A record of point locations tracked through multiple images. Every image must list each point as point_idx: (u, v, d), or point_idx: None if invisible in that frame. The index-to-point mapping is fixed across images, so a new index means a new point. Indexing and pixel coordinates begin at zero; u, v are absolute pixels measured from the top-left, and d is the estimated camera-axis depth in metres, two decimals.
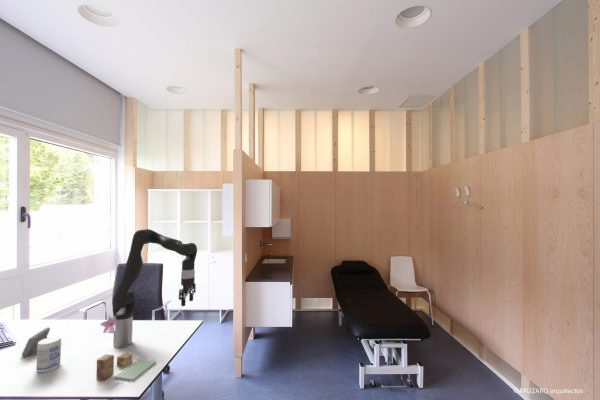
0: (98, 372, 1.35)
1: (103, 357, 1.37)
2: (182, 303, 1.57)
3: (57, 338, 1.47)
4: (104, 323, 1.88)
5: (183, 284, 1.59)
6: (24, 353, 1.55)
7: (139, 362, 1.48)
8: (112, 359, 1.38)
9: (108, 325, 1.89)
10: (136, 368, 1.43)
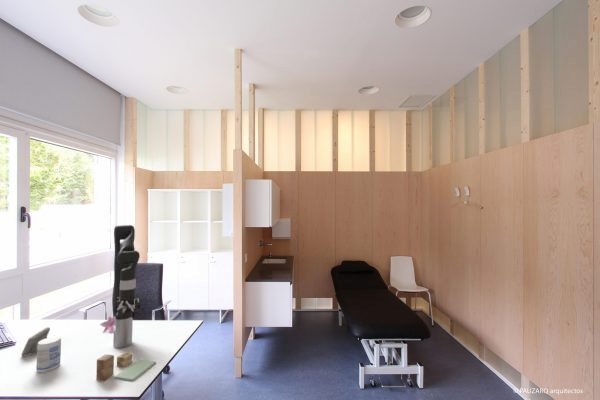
0: (98, 372, 1.35)
1: (103, 357, 1.37)
2: (135, 314, 1.47)
3: (57, 338, 1.47)
4: (104, 323, 1.88)
5: (132, 295, 1.47)
6: (24, 353, 1.55)
7: (139, 362, 1.48)
8: (112, 359, 1.38)
9: (108, 325, 1.88)
10: (136, 368, 1.43)
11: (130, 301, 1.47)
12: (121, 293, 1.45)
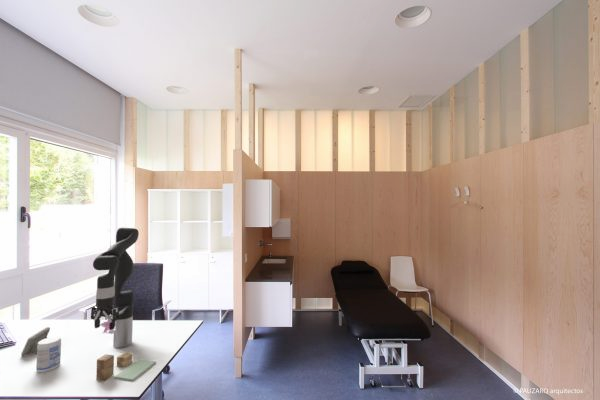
0: (98, 372, 1.35)
1: (103, 357, 1.37)
2: (113, 325, 1.34)
3: (57, 338, 1.47)
4: (104, 324, 1.88)
5: (110, 304, 1.33)
6: (23, 353, 1.55)
7: (139, 362, 1.48)
8: (112, 359, 1.38)
9: (108, 325, 1.88)
10: (136, 368, 1.43)
11: (108, 311, 1.33)
12: (97, 302, 1.31)
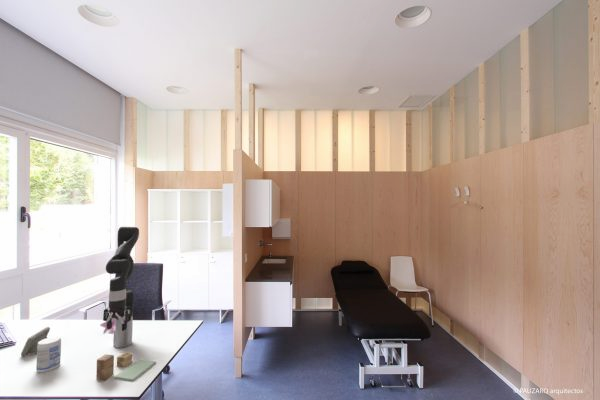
0: (98, 372, 1.35)
1: (103, 357, 1.37)
2: (125, 326, 1.39)
3: (57, 338, 1.47)
4: (104, 324, 1.87)
5: (122, 306, 1.39)
6: (23, 353, 1.55)
7: (139, 362, 1.48)
8: (112, 359, 1.38)
9: None
10: (136, 368, 1.43)
11: (120, 313, 1.38)
12: (110, 304, 1.36)
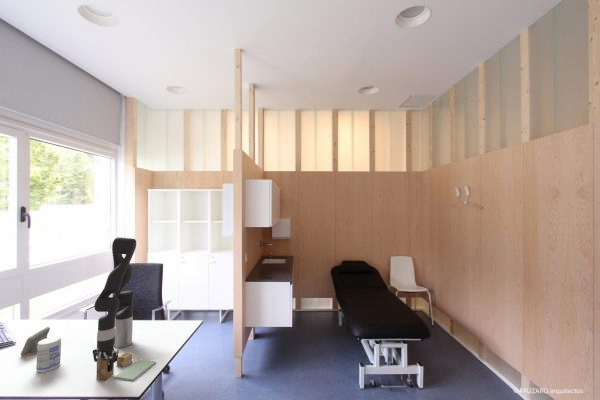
0: (98, 372, 1.35)
1: None
2: (111, 367, 1.36)
3: (57, 338, 1.47)
4: None
5: (111, 345, 1.36)
6: (23, 353, 1.55)
7: (139, 362, 1.48)
8: None
9: None
10: (136, 368, 1.43)
11: (108, 353, 1.36)
12: (98, 344, 1.34)
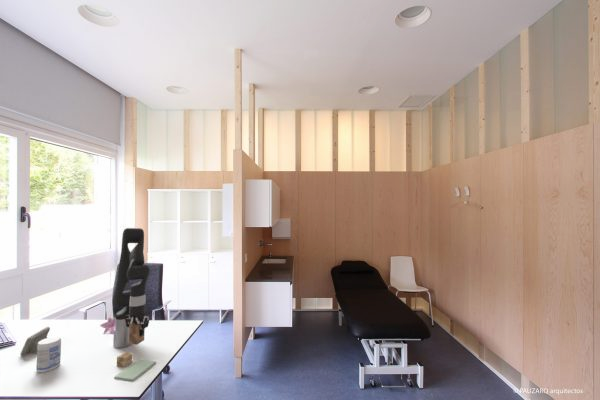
0: (130, 336, 1.41)
1: (135, 323, 1.43)
2: (143, 332, 1.43)
3: (57, 338, 1.47)
4: (104, 324, 1.86)
5: (142, 311, 1.42)
6: (22, 353, 1.55)
7: (139, 362, 1.48)
8: None
9: (108, 326, 1.87)
10: (136, 368, 1.43)
11: (140, 318, 1.42)
12: (131, 310, 1.40)
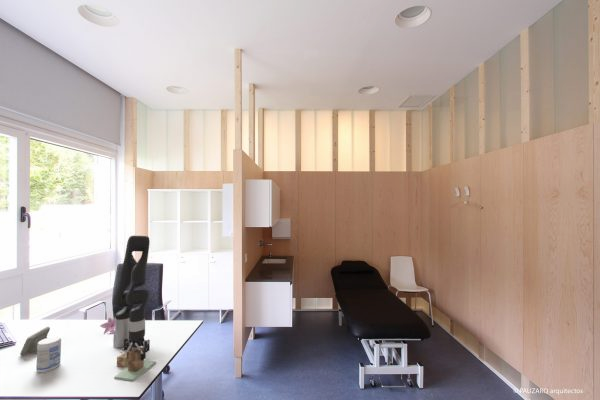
0: (130, 363, 1.41)
1: (134, 349, 1.43)
2: (144, 356, 1.42)
3: (57, 338, 1.47)
4: (104, 325, 1.86)
5: (142, 336, 1.42)
6: (22, 352, 1.55)
7: None
8: None
9: (108, 326, 1.86)
10: None
11: (139, 343, 1.42)
12: (130, 335, 1.40)
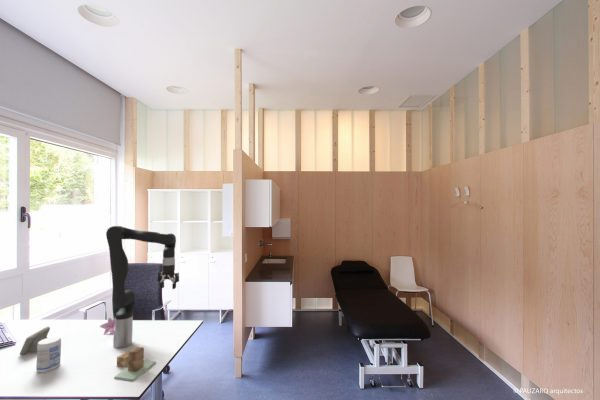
0: (130, 363, 1.41)
1: (134, 349, 1.43)
2: (175, 286, 1.78)
3: (57, 338, 1.47)
4: (105, 325, 1.85)
5: (172, 270, 1.78)
6: (22, 352, 1.55)
7: None
8: (142, 351, 1.44)
9: (108, 327, 1.86)
10: None
11: (171, 275, 1.77)
12: (164, 268, 1.75)
